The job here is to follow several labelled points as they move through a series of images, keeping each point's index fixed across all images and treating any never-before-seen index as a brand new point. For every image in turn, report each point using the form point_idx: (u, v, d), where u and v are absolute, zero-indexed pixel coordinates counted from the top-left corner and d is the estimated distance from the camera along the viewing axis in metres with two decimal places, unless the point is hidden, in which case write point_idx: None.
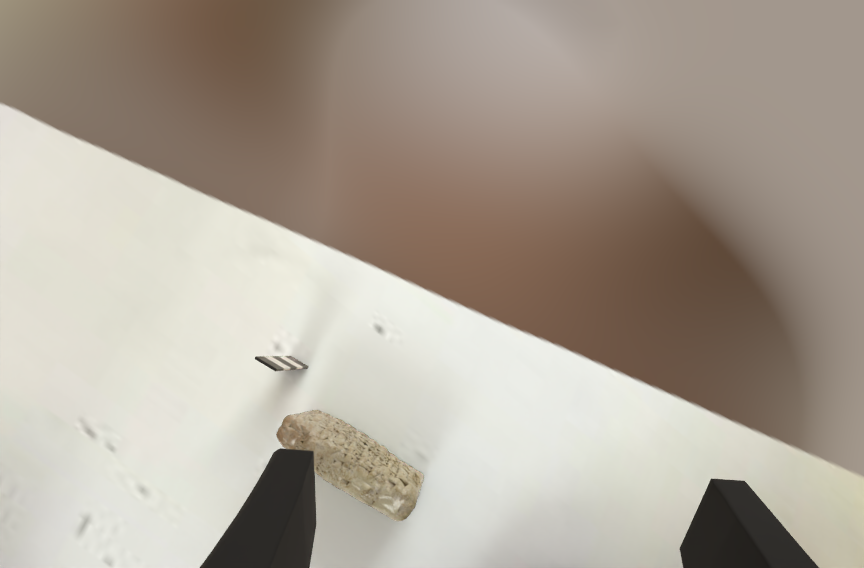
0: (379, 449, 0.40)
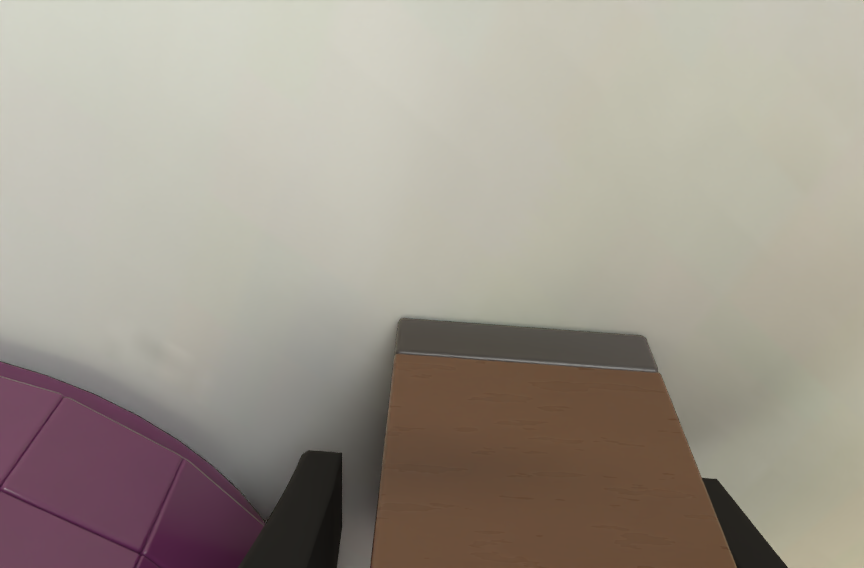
0: None
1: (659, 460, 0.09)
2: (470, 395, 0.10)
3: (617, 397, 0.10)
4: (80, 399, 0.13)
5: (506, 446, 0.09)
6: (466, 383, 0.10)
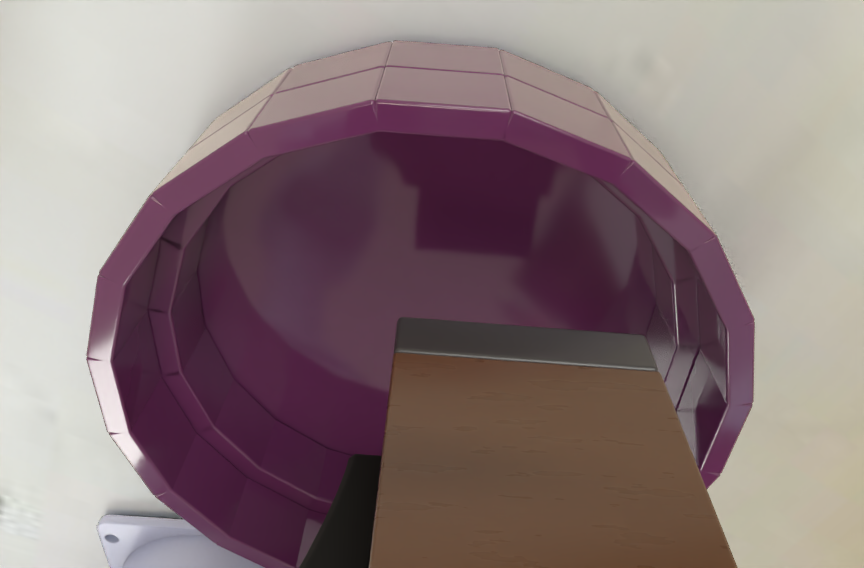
0: None
1: (659, 459, 0.09)
2: (469, 394, 0.10)
3: (617, 396, 0.10)
4: None
5: (504, 445, 0.09)
6: (466, 382, 0.10)
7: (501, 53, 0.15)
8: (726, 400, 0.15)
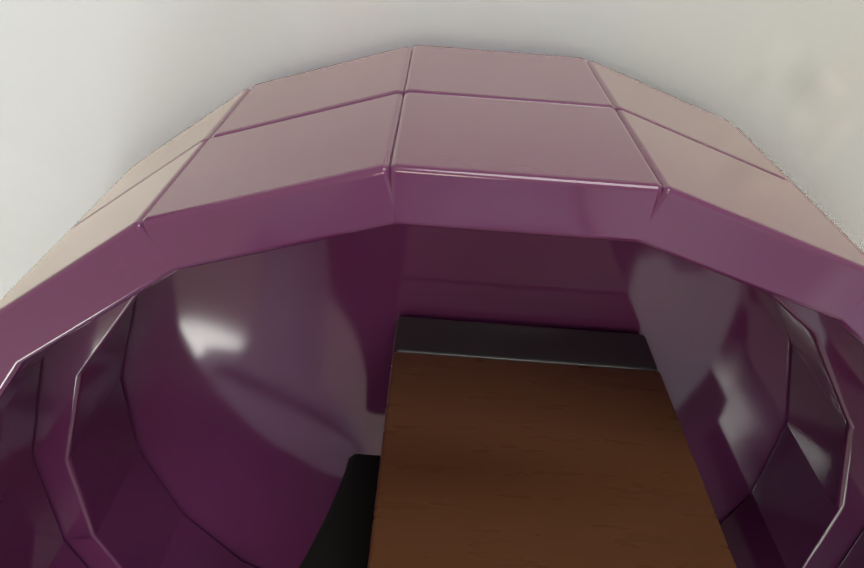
0: None
1: (658, 459, 0.09)
2: (468, 394, 0.10)
3: (616, 396, 0.10)
4: None
5: (503, 444, 0.09)
6: (465, 382, 0.10)
7: (592, 67, 0.09)
8: None
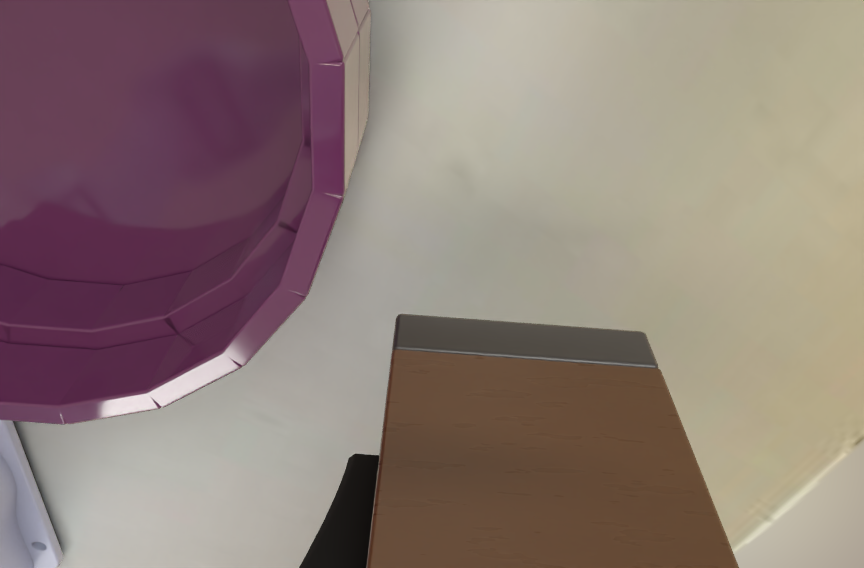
0: None
1: (659, 456, 0.09)
2: (468, 391, 0.10)
3: (617, 393, 0.10)
4: None
5: (504, 442, 0.09)
6: (465, 379, 0.10)
7: None
8: (306, 57, 0.11)
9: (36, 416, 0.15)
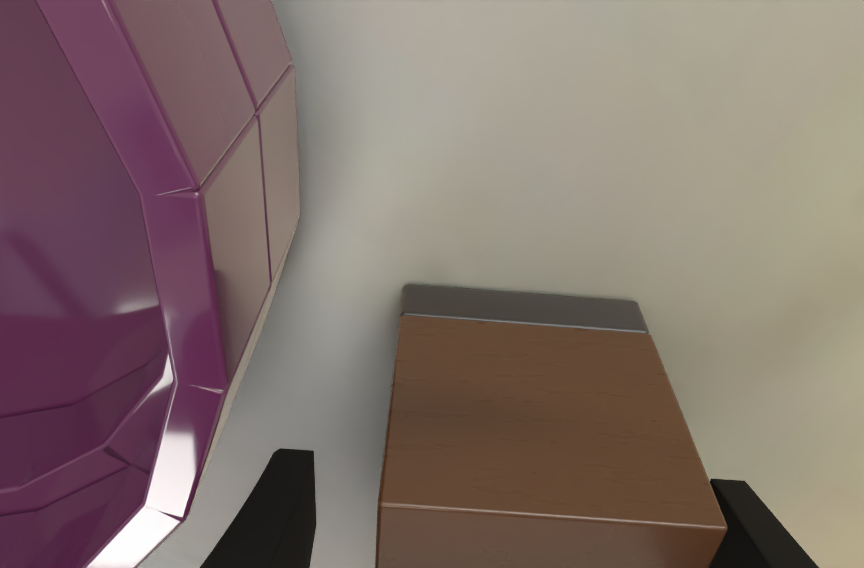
0: None
1: (647, 409, 0.10)
2: (471, 351, 0.11)
3: (609, 354, 0.11)
4: None
5: (504, 396, 0.10)
6: (467, 341, 0.11)
7: None
8: (134, 184, 0.06)
9: None
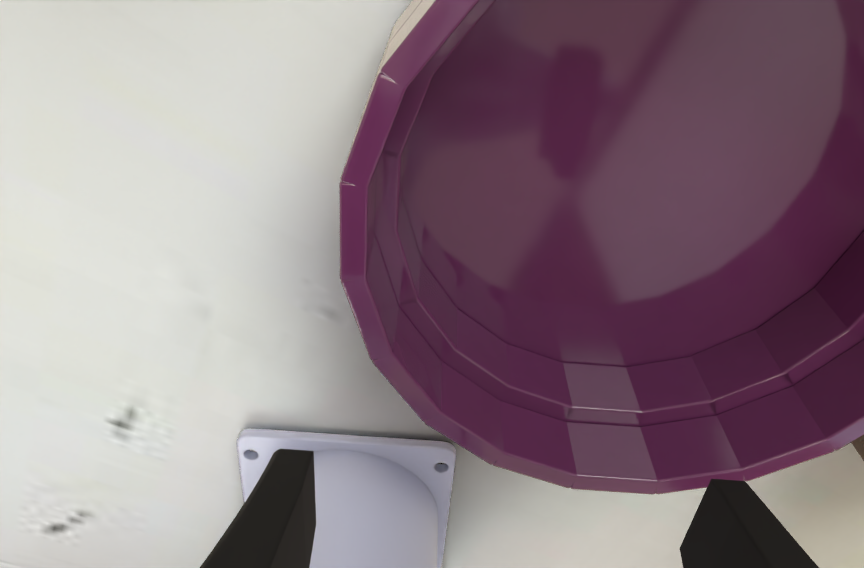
0: None
1: None
2: None
3: None
4: None
5: None
6: None
7: None
8: None
9: (635, 488, 0.18)
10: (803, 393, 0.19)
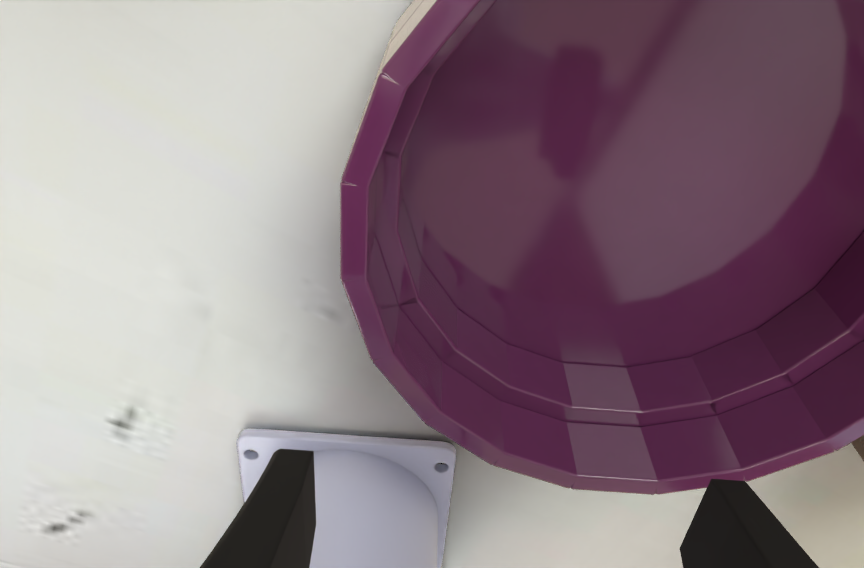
0: None
1: None
2: None
3: None
4: None
5: None
6: None
7: None
8: None
9: (635, 488, 0.18)
10: (803, 393, 0.19)
